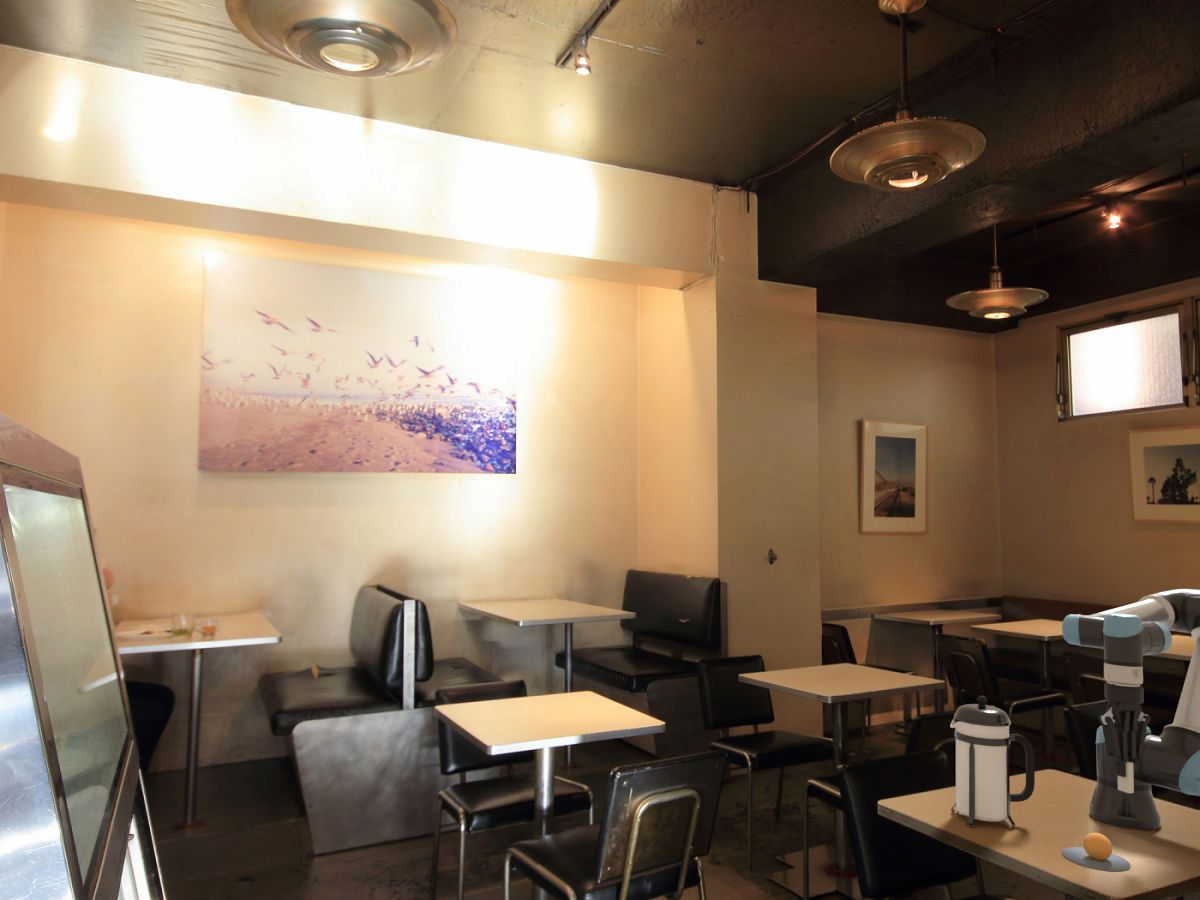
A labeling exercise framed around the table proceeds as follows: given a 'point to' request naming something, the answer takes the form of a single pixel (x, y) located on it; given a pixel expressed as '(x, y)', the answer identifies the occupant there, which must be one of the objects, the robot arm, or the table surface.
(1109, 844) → the ball
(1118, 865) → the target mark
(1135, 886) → the table surface
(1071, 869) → the table surface
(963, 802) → the coffee press
